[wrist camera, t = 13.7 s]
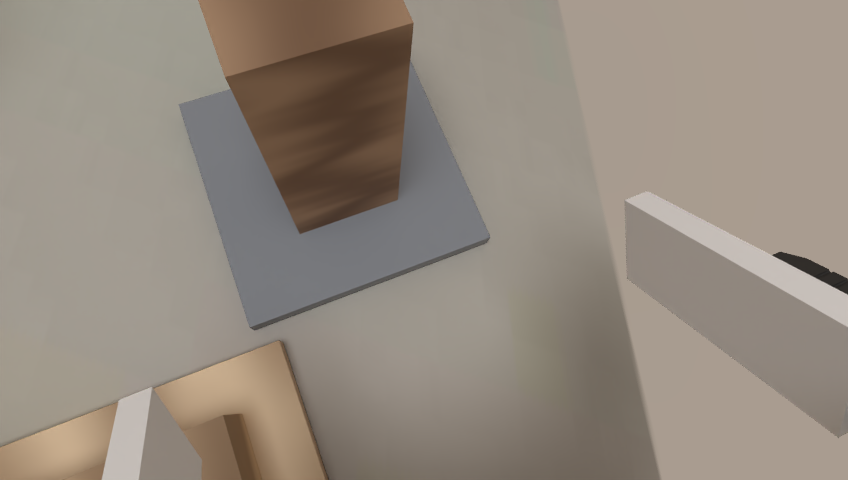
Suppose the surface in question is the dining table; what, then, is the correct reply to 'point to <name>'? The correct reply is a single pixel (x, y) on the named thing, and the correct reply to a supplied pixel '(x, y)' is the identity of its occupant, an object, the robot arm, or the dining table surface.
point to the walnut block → (320, 96)
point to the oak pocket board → (195, 427)
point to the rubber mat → (339, 241)
